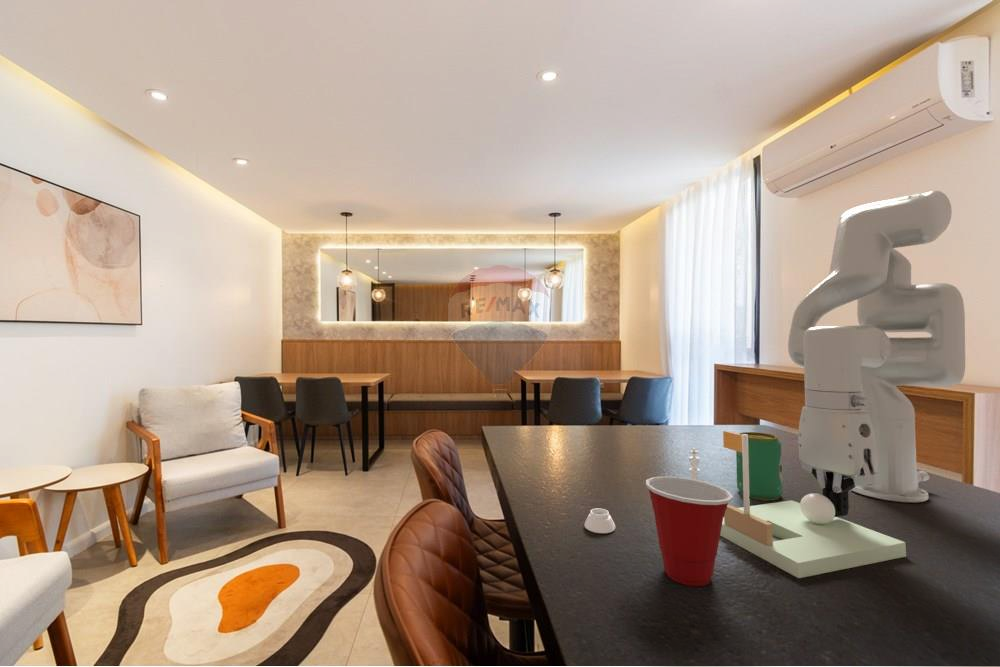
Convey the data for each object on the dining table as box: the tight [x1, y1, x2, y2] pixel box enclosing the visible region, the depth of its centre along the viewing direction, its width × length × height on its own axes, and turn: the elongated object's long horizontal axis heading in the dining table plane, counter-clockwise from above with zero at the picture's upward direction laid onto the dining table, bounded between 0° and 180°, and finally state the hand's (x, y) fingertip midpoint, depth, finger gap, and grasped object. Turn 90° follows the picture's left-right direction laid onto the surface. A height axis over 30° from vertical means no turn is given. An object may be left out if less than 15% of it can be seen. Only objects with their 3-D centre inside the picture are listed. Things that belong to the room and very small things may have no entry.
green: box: [720, 430, 907, 579], centre depth 70 cm, size 20×18×17 cm
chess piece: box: [688, 447, 701, 481], centre depth 88 cm, size 5×5×10 cm
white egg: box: [799, 492, 835, 524], centre depth 71 cm, size 5×5×5 cm
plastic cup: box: [645, 476, 734, 587], centre depth 59 cm, size 11×11×12 cm
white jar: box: [583, 507, 616, 535], centre depth 74 cm, size 5×3×5 cm
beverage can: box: [735, 431, 783, 501], centre depth 90 cm, size 8×8×12 cm
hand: (835, 514), depth 72 cm, fingers closed
